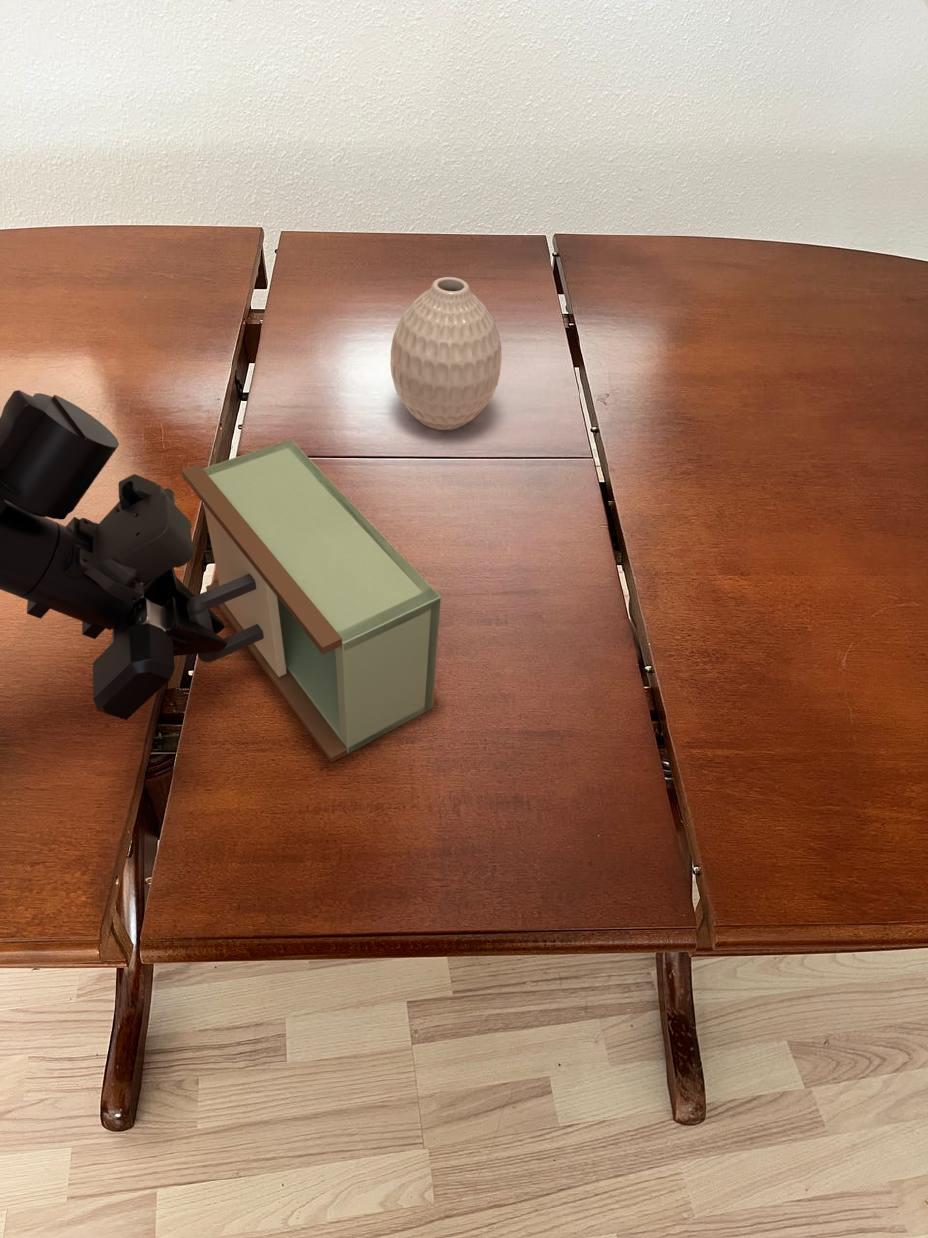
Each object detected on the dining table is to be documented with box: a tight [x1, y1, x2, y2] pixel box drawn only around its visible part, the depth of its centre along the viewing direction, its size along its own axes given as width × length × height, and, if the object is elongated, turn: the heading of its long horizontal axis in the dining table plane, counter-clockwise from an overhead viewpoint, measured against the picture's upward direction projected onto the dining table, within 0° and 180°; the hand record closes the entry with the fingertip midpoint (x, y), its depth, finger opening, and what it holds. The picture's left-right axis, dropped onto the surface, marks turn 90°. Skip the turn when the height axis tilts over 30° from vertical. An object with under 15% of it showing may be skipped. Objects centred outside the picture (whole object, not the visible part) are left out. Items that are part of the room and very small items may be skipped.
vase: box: [390, 276, 503, 431], centre depth 99 cm, size 13×13×17 cm
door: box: [186, 504, 287, 677], centre depth 72 cm, size 6×11×12 cm, turn 36°
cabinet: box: [180, 438, 442, 764], centre depth 73 cm, size 10×23×15 cm, turn 36°
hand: (222, 637), depth 70 cm, fingers closed on door, 2 cm apart
